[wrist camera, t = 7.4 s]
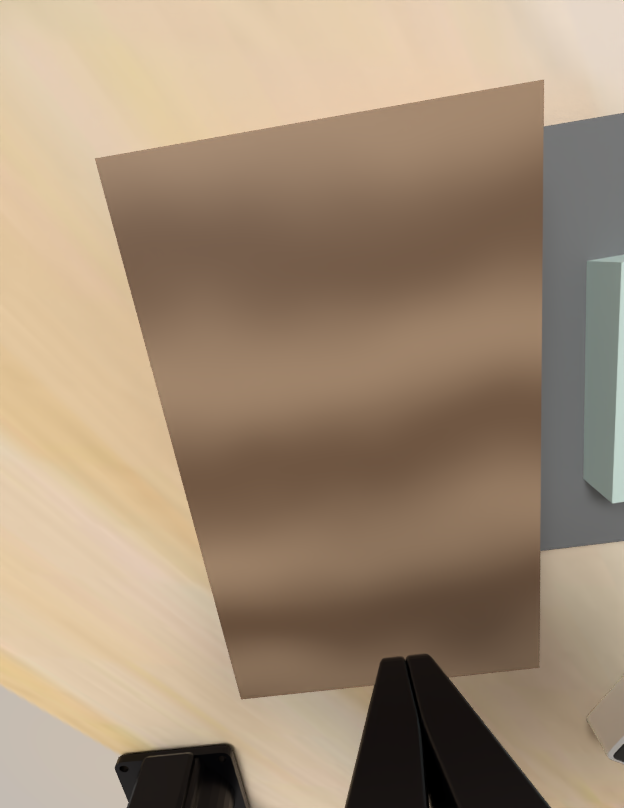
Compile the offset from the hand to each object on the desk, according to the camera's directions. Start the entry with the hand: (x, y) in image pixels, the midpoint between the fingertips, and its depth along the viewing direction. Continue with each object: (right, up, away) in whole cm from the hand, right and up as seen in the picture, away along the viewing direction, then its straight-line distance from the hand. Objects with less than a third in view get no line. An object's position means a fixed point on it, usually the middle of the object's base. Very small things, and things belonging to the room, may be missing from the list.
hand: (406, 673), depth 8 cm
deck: (0, +4, +11) cm, 12 cm away
